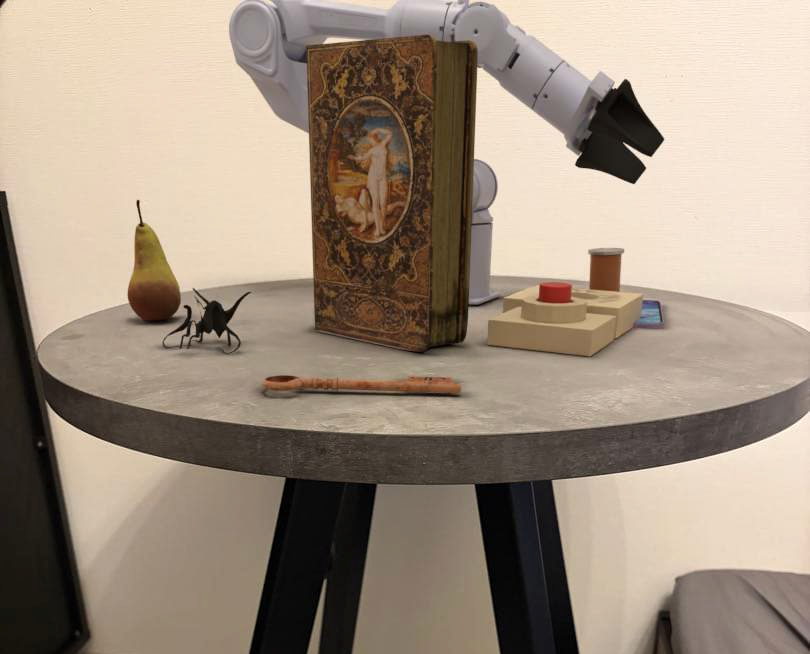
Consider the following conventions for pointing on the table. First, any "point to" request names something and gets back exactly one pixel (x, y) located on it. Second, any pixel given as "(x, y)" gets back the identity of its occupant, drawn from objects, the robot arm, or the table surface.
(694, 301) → the table surface
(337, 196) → the book
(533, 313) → the panel
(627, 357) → the table surface
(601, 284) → the cylinder
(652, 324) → the smartphone
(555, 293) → the button
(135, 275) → the fruit
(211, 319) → the creature
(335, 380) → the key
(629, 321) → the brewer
